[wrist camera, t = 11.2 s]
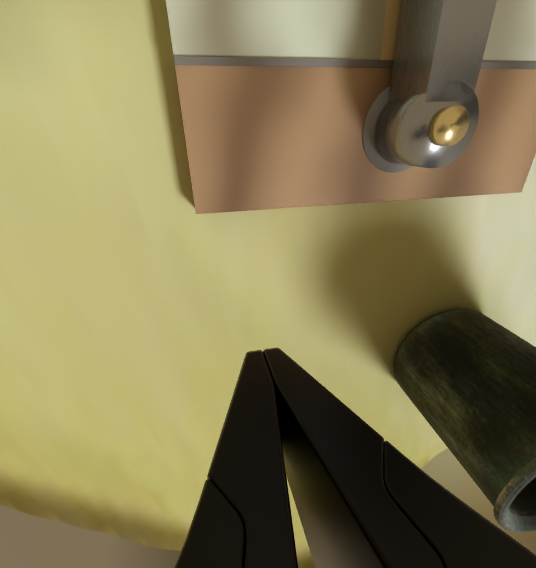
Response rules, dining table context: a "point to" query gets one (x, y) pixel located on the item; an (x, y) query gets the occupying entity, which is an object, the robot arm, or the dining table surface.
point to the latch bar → (434, 82)
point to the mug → (479, 404)
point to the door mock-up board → (332, 104)
